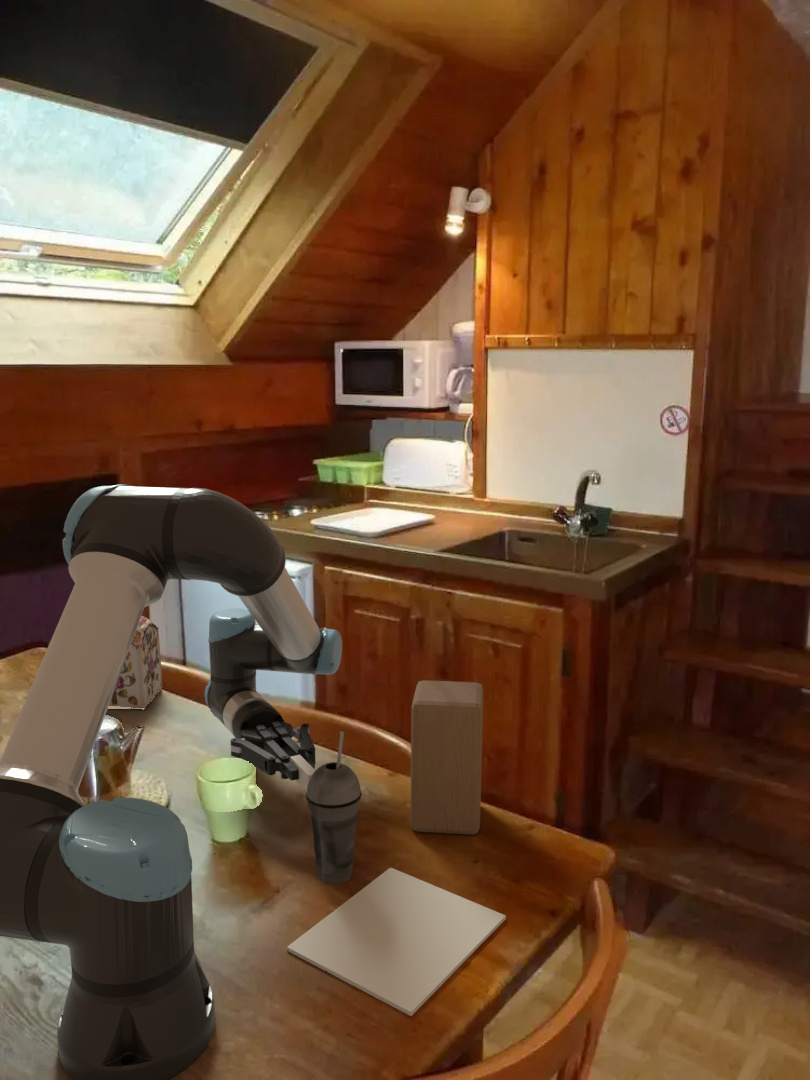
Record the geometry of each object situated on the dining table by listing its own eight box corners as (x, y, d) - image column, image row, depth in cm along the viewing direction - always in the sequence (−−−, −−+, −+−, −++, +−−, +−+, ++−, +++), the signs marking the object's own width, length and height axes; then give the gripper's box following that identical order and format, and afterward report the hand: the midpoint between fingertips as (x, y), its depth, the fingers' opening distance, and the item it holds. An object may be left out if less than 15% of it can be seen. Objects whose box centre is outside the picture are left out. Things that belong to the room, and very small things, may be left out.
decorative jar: (107, 687, 181) (102, 603, 178) (163, 689, 181) (159, 604, 177) (84, 710, 170) (78, 621, 166) (144, 711, 169) (139, 622, 166)
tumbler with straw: (301, 865, 118) (298, 725, 114) (352, 854, 121) (351, 718, 117) (315, 895, 111) (312, 748, 107) (369, 883, 114) (369, 740, 110)
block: (480, 803, 135) (483, 680, 131) (479, 837, 125) (482, 706, 121) (415, 799, 136) (417, 677, 132) (409, 833, 126) (410, 702, 122)
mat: (411, 1016, 91) (411, 1012, 91) (287, 950, 101) (286, 946, 101) (505, 919, 107) (505, 915, 107) (390, 870, 117) (390, 867, 117)
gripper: (292, 735, 144) (356, 797, 124) (214, 752, 138) (269, 820, 118) (291, 692, 142) (356, 747, 122) (213, 707, 136) (267, 768, 116)
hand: (313, 783), depth 120 cm, fingers closed
